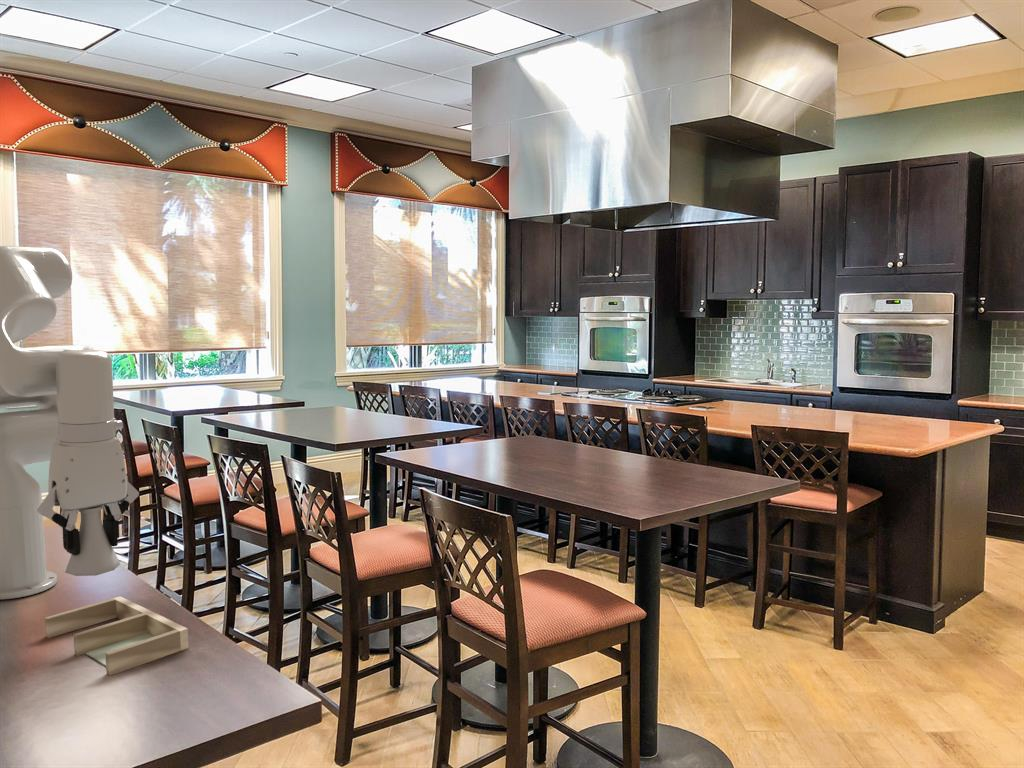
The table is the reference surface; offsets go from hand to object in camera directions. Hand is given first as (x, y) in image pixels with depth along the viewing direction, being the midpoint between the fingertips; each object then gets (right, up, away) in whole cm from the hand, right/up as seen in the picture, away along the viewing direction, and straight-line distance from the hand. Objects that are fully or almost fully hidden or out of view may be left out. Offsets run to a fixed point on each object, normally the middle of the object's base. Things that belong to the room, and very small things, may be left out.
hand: (92, 547), depth 128 cm
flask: (0, -4, 0) cm, 4 cm away
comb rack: (+4, -14, -2) cm, 15 cm away
